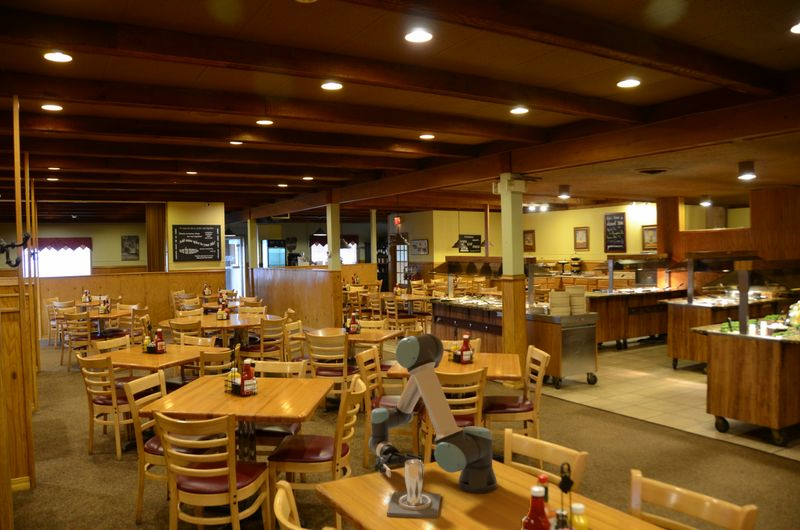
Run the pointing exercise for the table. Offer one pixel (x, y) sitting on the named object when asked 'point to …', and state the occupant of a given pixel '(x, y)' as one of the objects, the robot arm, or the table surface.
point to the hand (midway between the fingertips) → (406, 471)
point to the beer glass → (414, 481)
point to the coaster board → (423, 511)
